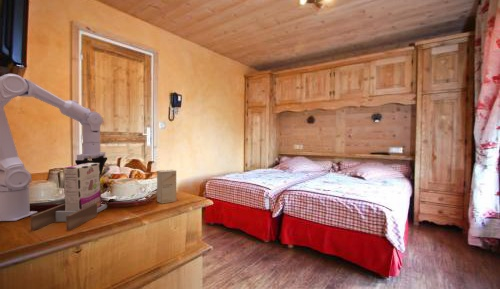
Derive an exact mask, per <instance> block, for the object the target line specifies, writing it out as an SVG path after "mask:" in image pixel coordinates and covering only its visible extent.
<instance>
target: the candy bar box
mask: <svg viewBox="0 0 500 289" xmlns="http://www.w3.org/2000/svg"><path fill="white" fill-rule="evenodd" d="M99 164H100V163H85V164H80V165H77V164H76V165H70V166H65V167H63V168H62V174H63V189H64V204H65V211H79V210H81V209H83V208H85V207H87V206H90V205H92V204H97V208H99V207H101V203H102V194H101V175H100V166H99Z"/></svg>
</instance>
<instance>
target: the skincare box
mask: <svg viewBox="0 0 500 289" xmlns="http://www.w3.org/2000/svg"><path fill="white" fill-rule="evenodd" d="M156 173H157V174H156V176H157V177H156V182H157V184H156V185H157V186H156V191H157V192H156V200H157V202H158V203H160V204H168V203H174V202H177V170H175V169H165V170H157V171H156Z"/></svg>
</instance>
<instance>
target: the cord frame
mask: <svg viewBox="0 0 500 289" xmlns="http://www.w3.org/2000/svg"><path fill="white" fill-rule="evenodd" d="M110 187H111V186H109V187H107V188H106V189H107V190H106V191H107V192H109V191H110ZM107 192H106V193H107ZM107 208H108V204H107V203H105V204H101V207H99V208H97V214H98V213H100V212H102V211H103V210H106V209H107ZM74 212H76V211H56V221H55V222H59V223H63V222H65V223H66V216H67V215H70V214H72V213H74Z"/></svg>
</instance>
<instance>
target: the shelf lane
mask: <svg viewBox="0 0 500 289" xmlns="http://www.w3.org/2000/svg"><path fill="white" fill-rule="evenodd" d="M56 211H65V203H62V204H58V205H57V206H54V207H51V208H48V209H46V210H42V211H40V212H37V213H35V214H33V215H30V231H31V232H33V231H37V230H40V229H41V228H43V227H46V226H47V225H50V224H52V223H55V222H56ZM96 217H98V213H97V204H92V205H90V206H87V207H85V208H83V209H81V210H79V211H76V212H74V213H72V214H70V215H67V216H66V222H65V224H66V231H67V232H68V231H72V230H74V229H76V228H78V227H79V226H81V225H83V224H86V223H87V222H88V221H91V220H92V219H94V218H96Z"/></svg>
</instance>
